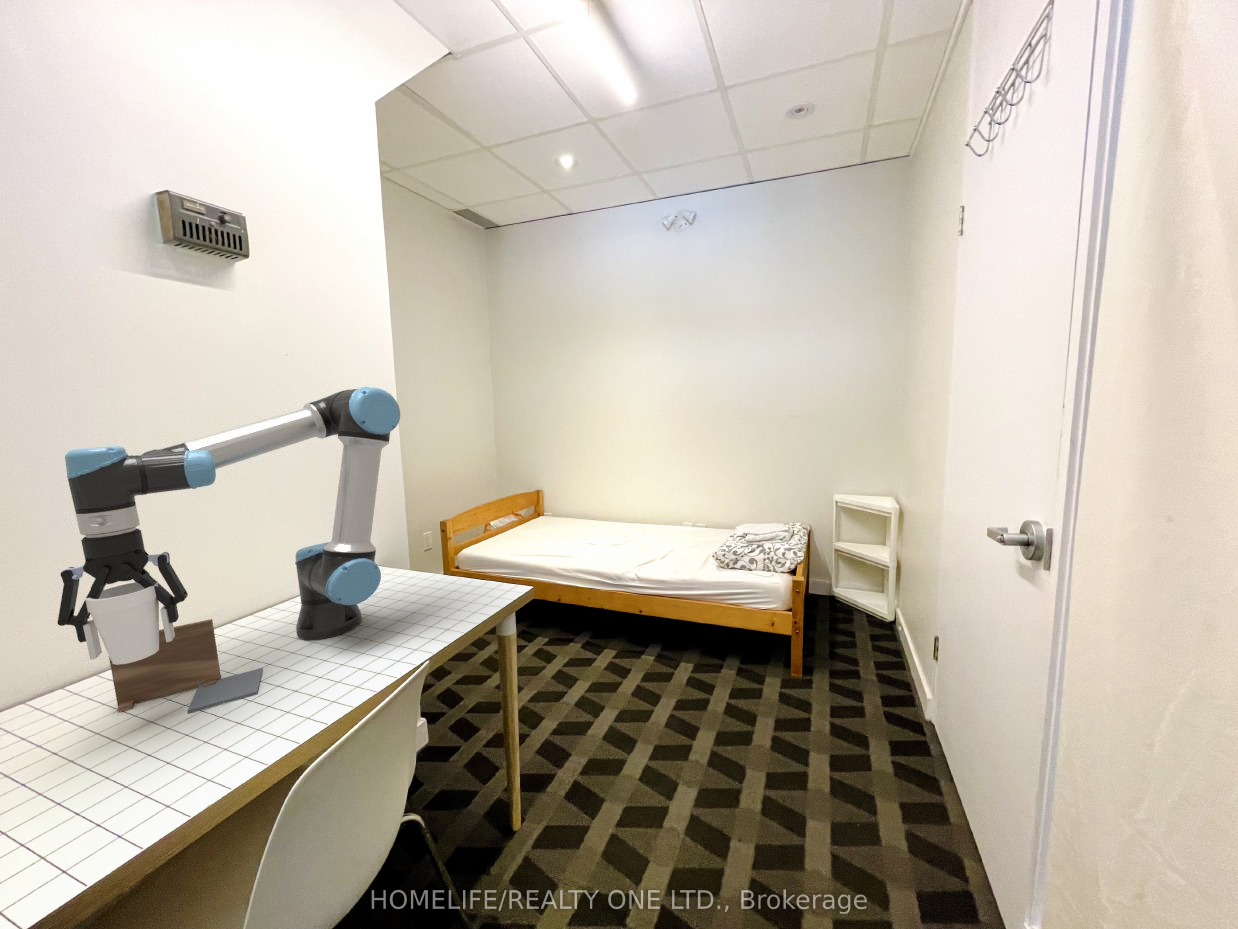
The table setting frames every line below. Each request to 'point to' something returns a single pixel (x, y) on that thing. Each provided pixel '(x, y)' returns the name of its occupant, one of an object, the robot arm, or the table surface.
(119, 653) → the foam cup
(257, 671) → the mat
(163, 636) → the screen
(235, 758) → the table surface
